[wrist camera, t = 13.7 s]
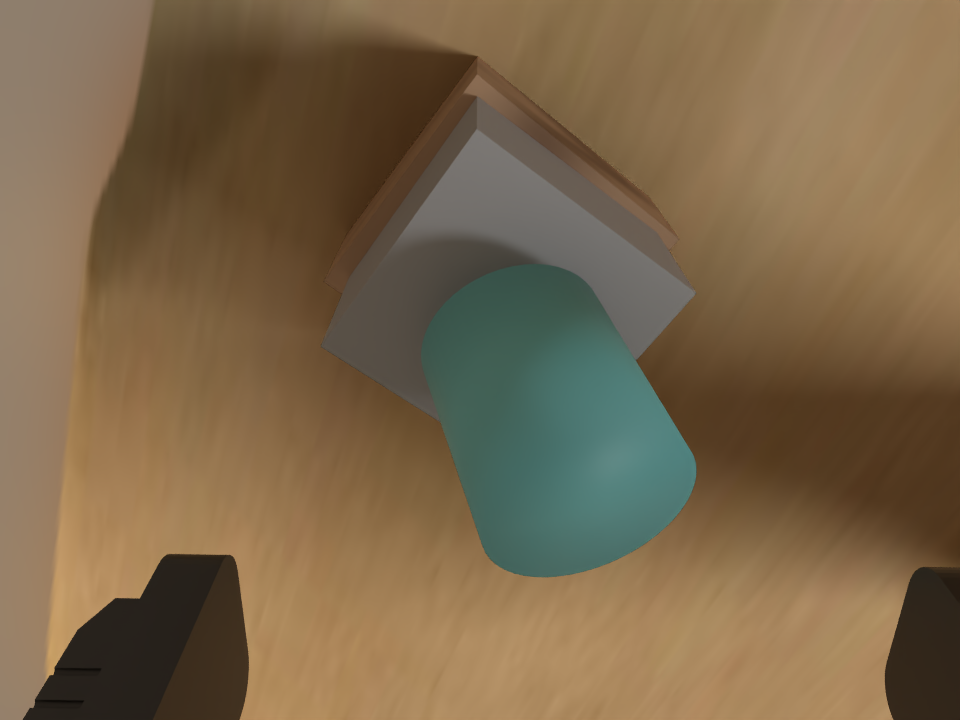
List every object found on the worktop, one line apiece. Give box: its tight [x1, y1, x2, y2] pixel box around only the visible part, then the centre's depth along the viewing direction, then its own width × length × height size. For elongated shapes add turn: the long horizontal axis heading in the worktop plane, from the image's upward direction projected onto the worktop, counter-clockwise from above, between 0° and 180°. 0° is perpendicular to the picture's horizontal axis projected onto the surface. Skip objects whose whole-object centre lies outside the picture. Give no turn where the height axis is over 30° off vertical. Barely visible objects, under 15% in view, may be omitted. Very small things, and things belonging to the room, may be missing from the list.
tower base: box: [324, 56, 679, 294], centre depth 28 cm, size 8×8×5 cm
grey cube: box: [321, 96, 696, 422], centre depth 23 cm, size 6×6×5 cm
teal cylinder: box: [421, 264, 696, 577], centre depth 18 cm, size 4×4×5 cm
